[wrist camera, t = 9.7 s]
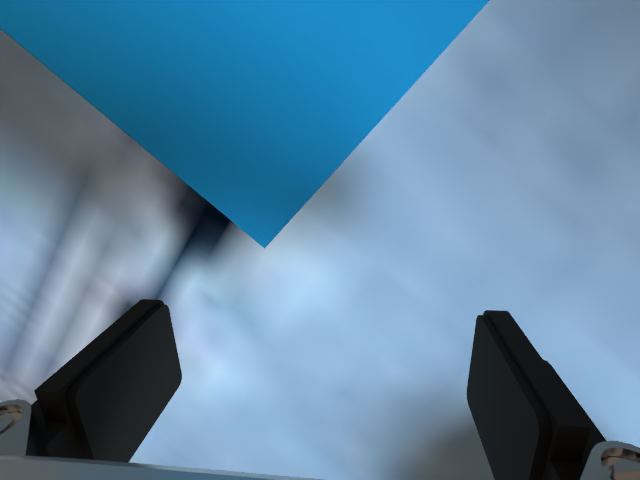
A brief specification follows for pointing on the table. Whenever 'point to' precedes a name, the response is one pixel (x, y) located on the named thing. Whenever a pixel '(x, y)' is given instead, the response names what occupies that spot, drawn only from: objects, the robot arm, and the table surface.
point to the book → (241, 83)
